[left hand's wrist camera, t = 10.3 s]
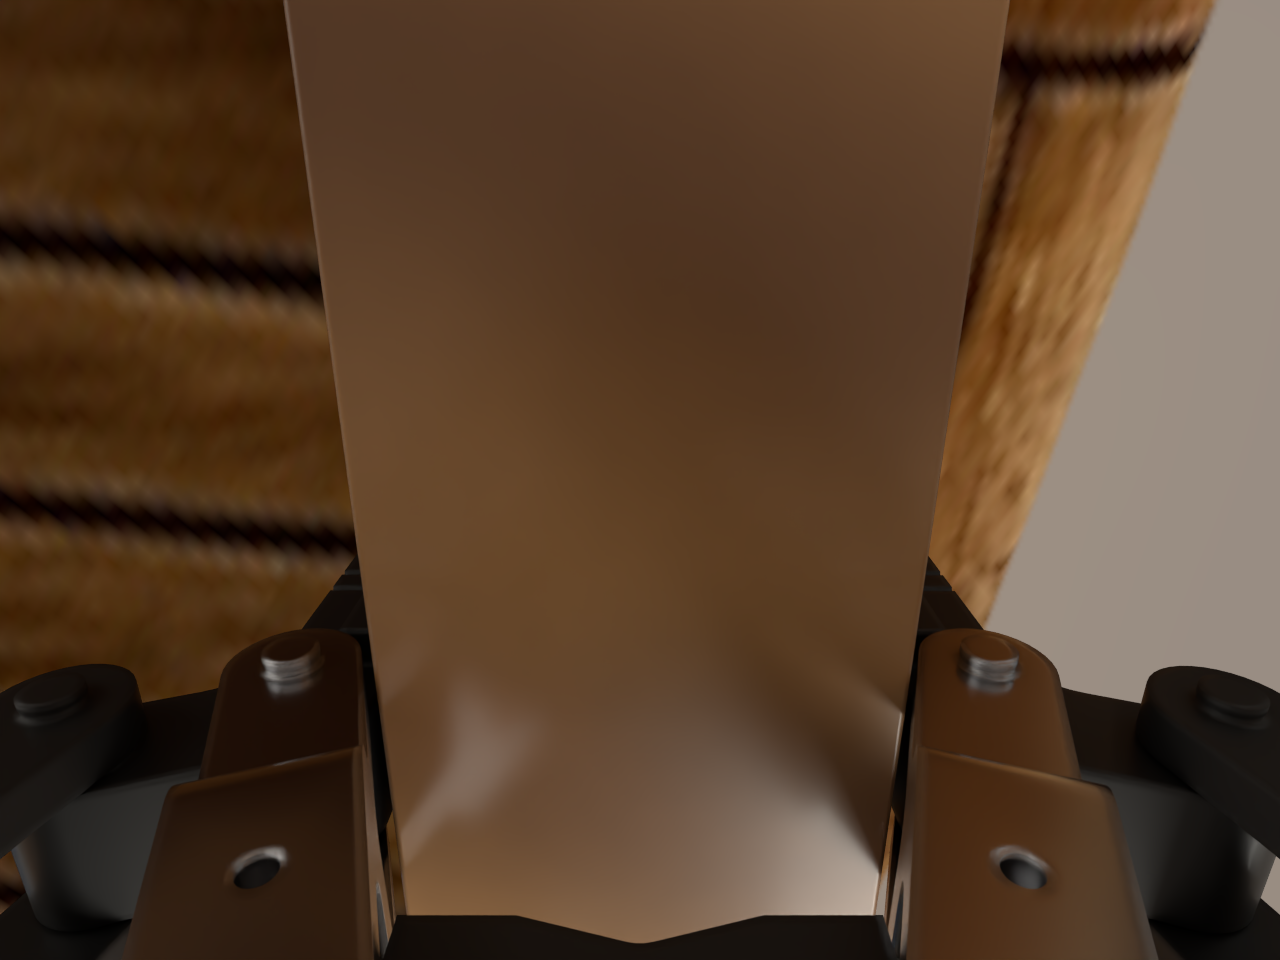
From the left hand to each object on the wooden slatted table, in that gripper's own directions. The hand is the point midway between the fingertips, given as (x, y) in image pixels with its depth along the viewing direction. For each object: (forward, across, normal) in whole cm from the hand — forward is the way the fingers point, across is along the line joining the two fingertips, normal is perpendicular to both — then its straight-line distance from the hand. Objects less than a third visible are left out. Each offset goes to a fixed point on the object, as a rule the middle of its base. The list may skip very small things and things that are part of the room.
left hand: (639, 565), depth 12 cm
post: (+2, 0, -24) cm, 24 cm away
